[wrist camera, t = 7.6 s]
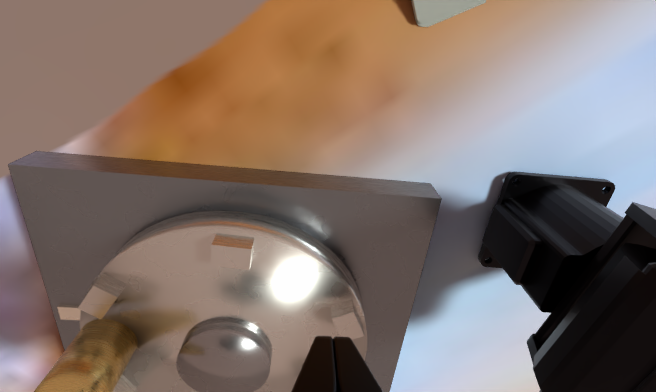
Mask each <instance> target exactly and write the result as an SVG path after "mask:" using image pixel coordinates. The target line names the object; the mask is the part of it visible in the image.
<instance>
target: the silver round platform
mask: <svg viewBox="0 0 656 392" xmlns="http://www.w3.org/2000/svg"><path fill="white" fill-rule="evenodd" d="M78 309H80V310H81V313H80V322H79V323H80V331H79V333H78V334H77V335H76V337H75V338H74V339H73V341H72V342H71V343H70V345H69V346H68V347H67V349H66V350H65V351H64V353H63V354H62V355H61V357H60V358H59V359H58V361H57V362H56V363H55V365H54V366H53V367H52V369H51V370H50V371H49V373H48V374H47V375H46V377H45V378H44V379H43V380H42V382H41V383H40V384H39V386H38V387H37V388H36V390H35V391H34V392H291V391H292V389H293V386H294V384H295V382H296V380H297V377H298V375H299V373H300V370H301V368H302V366H303V363H304V361H305V359H306V357H307V354H308V352H309V350H310V347H311V345H312V343H313V341H314V338H315V337H316V336H331V337H332V338H334V337H336V336H338V337H349V338H351V339H352V341H353V343H354V344H355V346H356V348H357V349H358V351H359V353H360V354H361V356H362V357H363V359H364V361H365V356H366V352H367V331H366V324H365V318H364V312H363V307H362V301H361V296H360V293H359V290H358V287H357V285H356V283H355V281H354V279H353V277H352V275H351V273H350V272H349V270H348V269H347V268H346V266H345V265H344V264H343V262H342V261H341V260H340V259H339V258H338V257H337V256H336V255H335V254H334V253H333V252H332V251H331V250H330V249H329V248H328V247H327V246H325V245H324V244H323V243H322V242H320V241H319V240H318V239H316V238H315V237H313V236H311V235H310V234H308V233H306V232H305V231H303V230H301V229H299V228H297V227H295V226H293V225H290V224H288V223H286V222H283V221H281V220H277V219H274V218H271V217H267V216H264V215H259V214H254V213H248V212H242V211H228V210H215V211H200V212H194V213H188V214H183V215H179V216H176V217H172V218H169V219H166V220H163V221H161V222H159V223H157V224H154V225H152V226H150V227H148V228H146V229H145V230H143V231H142V232H140V233H138V234H137V235H135V236H134V237H133V238H132V239H130V240H129V241H128V242H127V243H126V244H125V245H123V246H122V247H121V249H120V250H119V251H118V252H117V253H116V255H115V256H114V257H113V258H112V259H111V260H110V262H109V263H108V264H107V265H106V266H105V268H104V269H103V270H102V271H101V272H100V274H99V275H98V276H97V277H96V278H95V280H94V281H93V282H92V284H91V286H90V288H89V289H88V291H87V293H86V295H85V298H84V300H83V301H82V303H81V304H80V306H79V307H78Z"/></svg>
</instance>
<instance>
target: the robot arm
mask: <svg viewBox="0 0 656 392" xmlns="http://www.w3.org/2000/svg"><path fill="white" fill-rule="evenodd" d="M517 178H518V180H517V182H516V183H514V184H513V181H514V180H515V179H517ZM604 187H605V189H604V190H602V189H603V188H604ZM614 190H615V185H614V184H613V183H612V182H610V181H608V180H605V179H594V178H582V177H571V176H559V175H548V174H536V173H524V172H512V173H510V174H509V175H508V176H507V177H506V179H505V181H504V184H503V187H502V190H501V193H500V196H499V199H498V202H497V204H496V206H495V207H494V208H493V211H492V214H491V217H490V220H489V223H488V226H487V229H486V232H485V235H484V237H483V245H482V248H481V251H480V253H479V256H478V260H479V262H480V263H481V264H482V265H483V266H485V267H496V268H503V269H504V270H505V271H506V273H507V274H508V275H509V277H510V278H511V279H512V281H513V282H514V283H515V284H516V285H521V286H522V287H523V289H524V290H525V291H526V293H527V294H528V295H529V296H530V298H531V299H532V300H533V301H534V303H535V304H536V305H537V307H538V308H539V309H540V310H541V311H542V312H549V313H551V314H550V315H549V317H548V318H547V319H546V321H545V322H544V323H543V324H542V326H541V327H540V328H539V330H538V331H537V332H536V334H532V335H531V336H530V338H529V339H528V340H527V345H528V348H529V352H530V355H531V358H532V362H533V370H534V373H535V376H536V379H537V381H538V384H539V387H540V389H541V390H540V392H656V209H653V208H650V207H647V206H644V205H640V204H637V203H634V202H632V204H631V205H630V206H629V208H628V209H627V210H626V212H625V213H626V214H627V215H626V216H625V217H624V218H623V217H621V216H619V215H618V214H616V213H615V212H613V211H612V210H610V209H608V208H607V207H606V206H607V204H608V202H609V200H610V198H611V196H612V194H613V192H614ZM488 257H489V259H487V260H485V259H486V258H488ZM291 392H383V391H382V389H381V387H380V386H379V384H378V382H377V381H376V379H375V377H374V376H373V374H372V372H371V371H370V369H369V367H368V366H367V364H366V362H365V361H364V359H363V357H362V356H361V354H360V353H359V351H358V349H357V348H356V346H355V344H354V343H353V341H352V339H351V338H349V337H338V336H336V337H334V338H332V337H331V336H316V337H315V338H314V341H313V343H312V345H311V347H310V350H309V352H308V354H307V357H306V359H305V361H304V363H303V366H302V368H301V370H300V373H299V375H298V377H297V380H296V382H295V384H294V386H293V389H292V391H291Z"/></svg>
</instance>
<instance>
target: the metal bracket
mask: <svg viewBox="0 0 656 392" xmlns="http://www.w3.org/2000/svg"><path fill="white" fill-rule="evenodd" d="M411 1H412V6H413V11H414V16H415V20H416V23H417V24H418V25H419V26H422V27H429V26H431V25H434V24H436V23H438V22H441V21H443V20H446V19H448V18H450V17H453V16H455V15H457V14H460V13H462V12H464V11H467V10H469V9H471V8H474V7H476V6H478V5H481V4H483V3H485V2H486V0H411Z"/></svg>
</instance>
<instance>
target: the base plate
mask: <svg viewBox="0 0 656 392" xmlns="http://www.w3.org/2000/svg"><path fill="white" fill-rule="evenodd" d="M8 167H9V170H10V173H11V177H12V180H13V183H14V186H15V190H16V193H17V196H18V200H19V203H20V206H21V209H22V213H23V216H24V219H25V222H26V226H27V229H28V232H29V236H30V239H31V242H32V245H33V249H34V252H35V255H36V258H37V262H38V265H39V268H40V272H41V275H42V278H43V281H44V285H45V288H46V291H47V294H48V298H49V301H50V304H51V308H52V311H53V314H54V317H55V321H56V324H57V327H58V330H59V334H60V337H61V340H62V344H63V347H64V350H66V349H67V347H68V346H69V345H70V343H71V342H72V341H73V339H74V338H75V337H76V335H77V334H78V333H79V331H80V323H79V322H80V313H81V310H80V309H78V307H79V306H80V304H81V303H82V301H83V300H84V298H85V295H86V293H87V291H88V289H89V288H90V286H91V284H92V282H93V281H94V280H95V278H96V277H97V276H98V275H99V274H100V272H101V271H102V270H103V269H104V268H105V266H106V265H107V264H108V263H109V262H110V260H111V259H112V258H113V257H114V256H115V255H116V253H117V252H118V251H119V250H120V249H121V247H122V246H123V245H125V244H126V243H127V242H128V241H129V240H130V239H132V238H133V237H134V236H135V235H137V234H138V233H140V232H142V231H143V230H145V229H146V228H148V227H150V226H152V225H154V224H157V223H159V222H161V221H163V220H166V219H169V218H172V217H176V216H179V215H183V214H188V213H194V212H200V211H215V210H228V211H242V212H248V213H254V214H259V215H264V216H267V217H271V218H274V219H277V220H281V221H283V222H286V223H288V224H290V225H293V226H295V227H297V228H299V229H301V230H303V231H305V232H306V233H308V234H310V235H311V236H313V237H315V238H316V239H318V240H319V241H320V242H322V243H323V244H324V245H325V246H327V247H328V248H329V249H330V250H331V251H332V252H333V253H334V254H335V255H336V256H337V257H338V258H339V259H340V260H341V261H342V262H343V264H344V265H345V266H346V268H347V269H348V270H349V272H350V273H351V275H352V277H353V279H354V281H355V283H356V285H357V287H358V290H359V293H360V296H361V301H362V307H363V312H364V318H365V324H366V331H367V352H366V356H365V362H366V364H367V366H368V367H369V369H370V371H371V372H372V374H373V376H374V377H375V379H376V381H377V382H378V384H379V386H380V387H381V389H382V391H383V392H389V391H390V388H391V384H392V380H393V377H394V373H395V369H396V366H397V362H398V358H399V354H400V351H401V347H402V343H403V340H404V336H405V332H406V328H407V325H408V321H409V317H410V314H411V310H412V306H413V303H414V299H415V295H416V291H417V288H418V284H419V280H420V277H421V273H422V269H423V265H424V262H425V258H426V254H427V251H428V247H429V243H430V240H431V236H432V232H433V228H434V225H435V221H436V217H437V214H438V210H439V206H440V202H441V197H440V196H439V194H438V193H437V192H436V190H435V189H434V187H433V186H432V185H431V183H419V182H406V181H394V180H382V179H370V178H358V177H346V176H333V175H321V174H309V173H297V172H285V171H272V170H260V169H248V168H236V167H224V166H212V165H199V164H187V163H175V162H163V161H151V160H138V159H126V158H114V157H102V156H90V155H78V154H65V153H53V152H41V151H35V152H33V153H31V154H29V155H27V156H25V157H23V158H20V159H18V160H16V161H14V162H12V163H10V164H8Z"/></svg>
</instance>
